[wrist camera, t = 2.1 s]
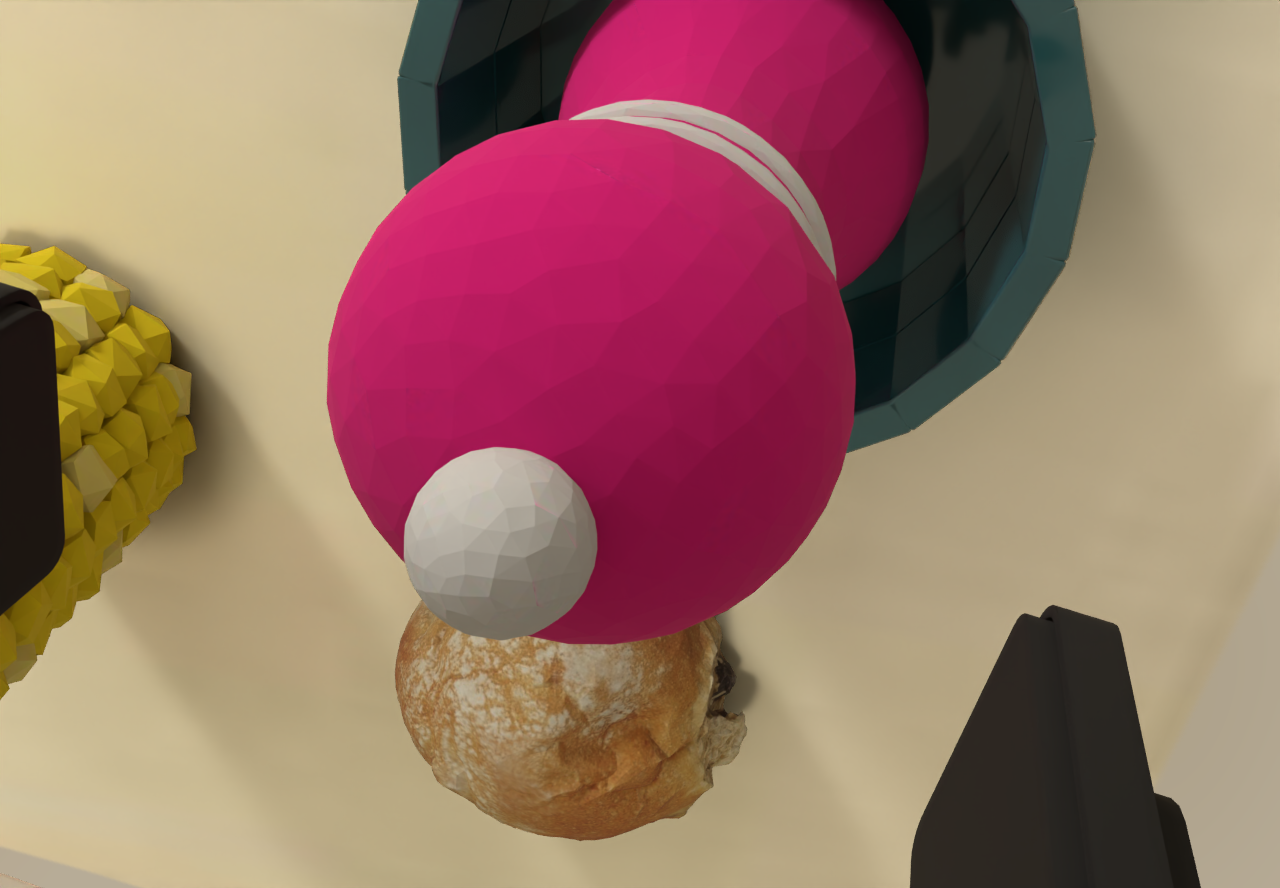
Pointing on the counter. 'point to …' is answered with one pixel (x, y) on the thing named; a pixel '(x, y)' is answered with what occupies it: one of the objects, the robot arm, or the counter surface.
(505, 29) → the pot
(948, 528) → the counter surface
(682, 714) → the bread roll
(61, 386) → the food
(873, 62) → the pepper mill
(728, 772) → the counter surface
